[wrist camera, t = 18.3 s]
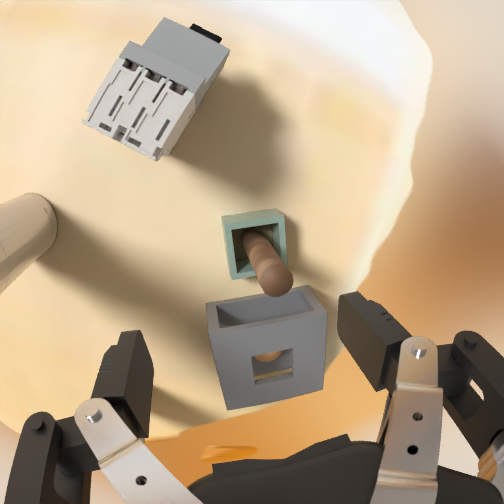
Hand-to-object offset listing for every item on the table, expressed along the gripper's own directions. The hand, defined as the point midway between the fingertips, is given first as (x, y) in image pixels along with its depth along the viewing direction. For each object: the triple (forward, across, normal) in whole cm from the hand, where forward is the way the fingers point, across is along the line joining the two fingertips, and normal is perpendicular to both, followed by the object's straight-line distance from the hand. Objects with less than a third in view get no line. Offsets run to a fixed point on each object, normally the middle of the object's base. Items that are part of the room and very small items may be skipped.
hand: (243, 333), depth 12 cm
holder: (+30, -5, +7) cm, 31 cm away
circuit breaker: (+30, +3, -14) cm, 34 cm away
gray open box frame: (+30, -5, +24) cm, 39 cm away
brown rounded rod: (+30, -5, +7) cm, 31 cm away
